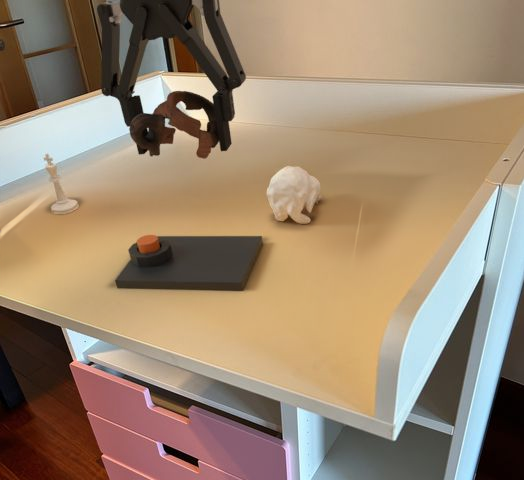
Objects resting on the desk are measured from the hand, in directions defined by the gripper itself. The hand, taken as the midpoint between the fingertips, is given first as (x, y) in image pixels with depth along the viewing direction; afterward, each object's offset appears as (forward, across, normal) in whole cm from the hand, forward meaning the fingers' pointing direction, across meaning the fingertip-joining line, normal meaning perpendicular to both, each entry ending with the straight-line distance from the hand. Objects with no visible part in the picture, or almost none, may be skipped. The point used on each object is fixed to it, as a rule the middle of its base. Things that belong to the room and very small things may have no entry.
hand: (185, 149), depth 73 cm
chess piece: (+16, +32, -18) cm, 40 cm away
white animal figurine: (+16, -12, -14) cm, 25 cm away
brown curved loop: (+1, +1, 0) cm, 1 cm away
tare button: (+13, +7, +3) cm, 15 cm away
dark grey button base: (+16, +1, +3) cm, 16 cm away
